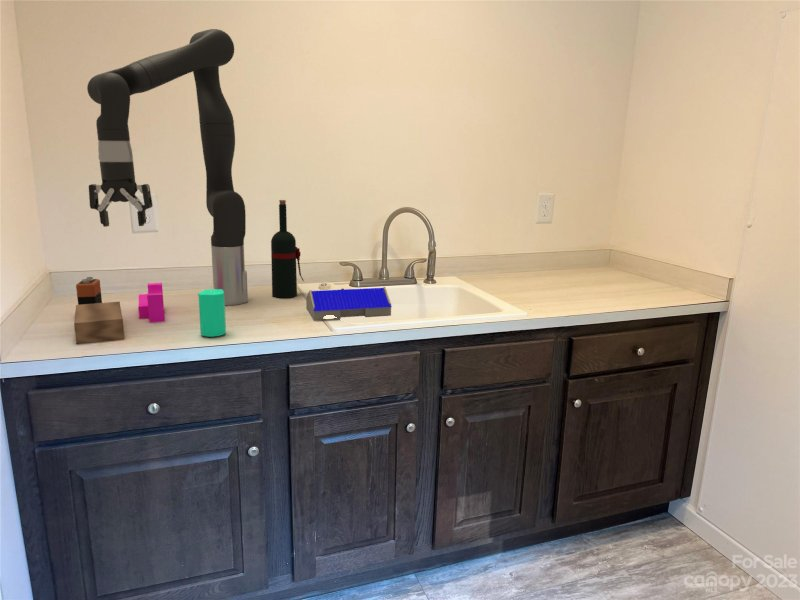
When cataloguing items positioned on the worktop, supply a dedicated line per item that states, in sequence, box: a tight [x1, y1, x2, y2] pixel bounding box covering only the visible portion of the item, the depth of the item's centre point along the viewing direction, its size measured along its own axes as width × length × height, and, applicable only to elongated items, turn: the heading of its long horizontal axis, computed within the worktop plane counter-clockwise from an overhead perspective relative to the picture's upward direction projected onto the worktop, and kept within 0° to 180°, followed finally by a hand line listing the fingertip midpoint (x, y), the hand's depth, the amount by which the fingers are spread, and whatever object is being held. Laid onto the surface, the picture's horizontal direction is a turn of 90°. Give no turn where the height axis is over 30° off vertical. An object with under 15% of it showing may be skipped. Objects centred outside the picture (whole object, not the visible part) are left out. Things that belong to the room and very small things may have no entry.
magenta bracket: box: [137, 282, 166, 323], centre depth 158 cm, size 15×6×8 cm, turn 23°
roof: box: [305, 286, 393, 321], centre depth 166 cm, size 22×14×7 cm, turn 108°
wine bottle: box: [270, 199, 305, 300], centre depth 180 cm, size 8×10×30 cm
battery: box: [75, 276, 103, 305], centre depth 157 cm, size 4×7×10 cm, turn 13°
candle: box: [197, 288, 227, 337], centre depth 143 cm, size 6×6×12 cm
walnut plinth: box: [73, 301, 125, 345], centre depth 143 cm, size 10×18×5 cm, turn 27°
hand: (123, 226), depth 147 cm, fingers open, 8 cm apart
